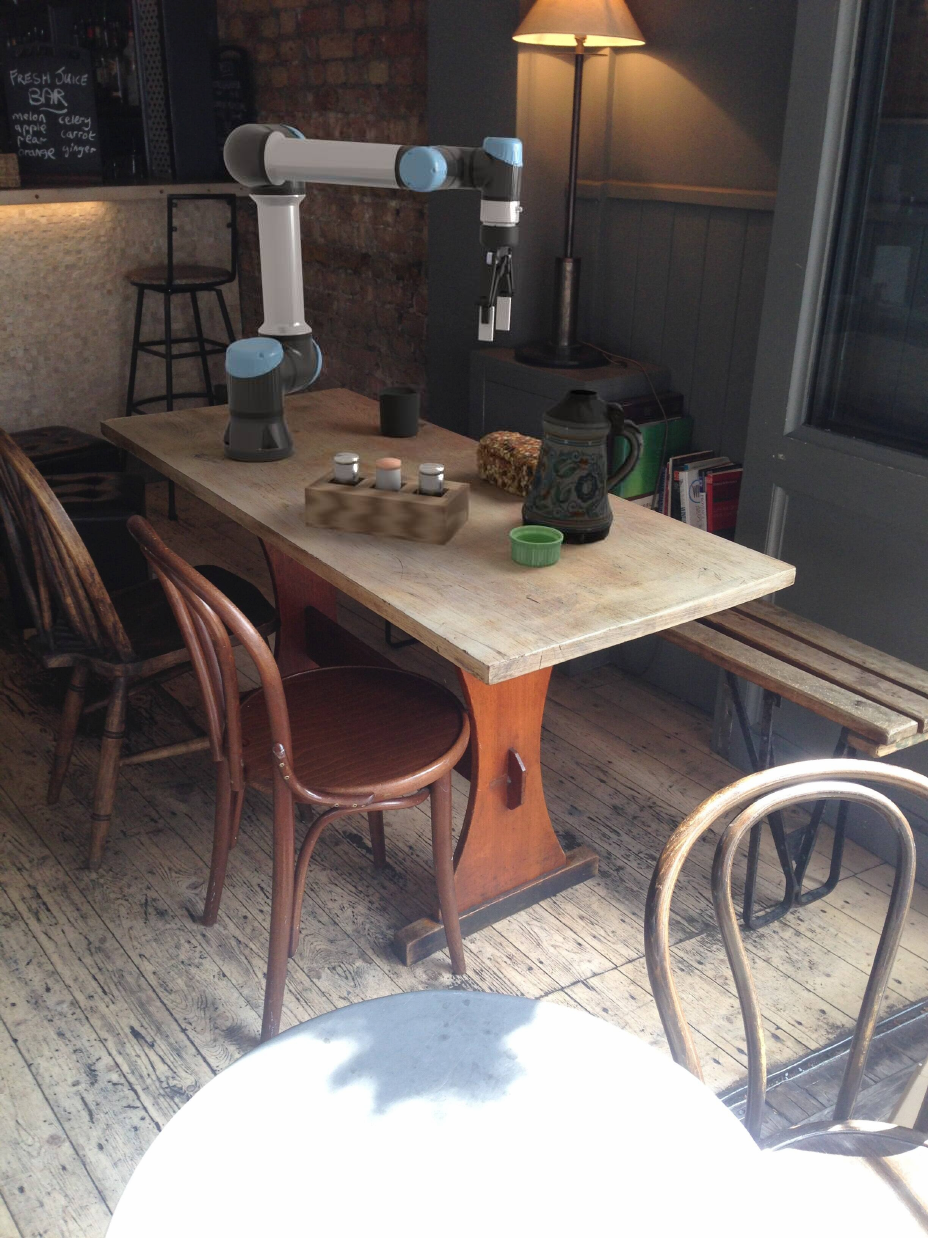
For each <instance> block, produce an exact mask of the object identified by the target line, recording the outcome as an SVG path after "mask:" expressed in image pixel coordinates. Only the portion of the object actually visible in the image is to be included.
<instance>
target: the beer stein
mask: <svg viewBox="0 0 928 1238" xmlns="http://www.w3.org/2000/svg"><path fill="white" fill-rule="evenodd" d="M541 415H542V416H541V423H542V428H543V435H542V439H541V441H542V444H541V448H540V453H539V457H538V462H537V466H536V470H535V474H534V478H533V481H532V485H531V488H530V491H529V493H528V496H527V498H526V497H525V500H524V502H523V504H522V506H521V510H520V511H521V517H522V526H545V527H550V528H553V529H556V530H558V531H560V532H561V533H562V534H563V541H562V543H561V545H570V546H571V545H575V546H579V545H580V546H582V545H588V544H594V543H598V542H601V541H604V540H605V539H606V538H607V537H608V536H609V534H610V531H611V526H612V524H613V521H614V513H613V510H612V508H611V505H610V504H611V503H610V500H609V499H610V498H609V494H610V493H611V492H613V491H614V490H616V489H617V488H618V487H619V486H621V485H622V484H624V482H625V481H626V480H627V479H628V478H629V477H630V476H631V475H632V474H633V472H635V470H636V468H637V467H638V465H639V463H640V461H641V458H642V456H643V452H644V451H643V450H644V440H643V436H642V434H643V431H642V429H641V428H640V427H639V426H637V425H636V423H635V422H634V421H632V420H630V419H626V414H625V411H624V409H623V408H622V406H621V404H619V403H617V402H612V401H606V400H604V399H602V398H601V397H600V396H599V392H596V391H595V390H594V391H593V390H588V389H570V390H568V391H567V393H566V394H565V396H564V397H563V398H561V400H559V401H557V402H556V403H554V404H553V405H551V406H550V407H549V408H547V409H545V411H544V412H543V414H541ZM608 436H611V437H622V438H624V439H626V440H627V442H628V445H629V451H628V454H627V455H626V457H625V459H624V461H623V463H622V464H621V465H620V466H618V468H617V469H615V470H614V472H613V473H611V475H608V451H607V450H608V449H607V445H608V444H607V443H608V442H607V441H608Z"/></svg>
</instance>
